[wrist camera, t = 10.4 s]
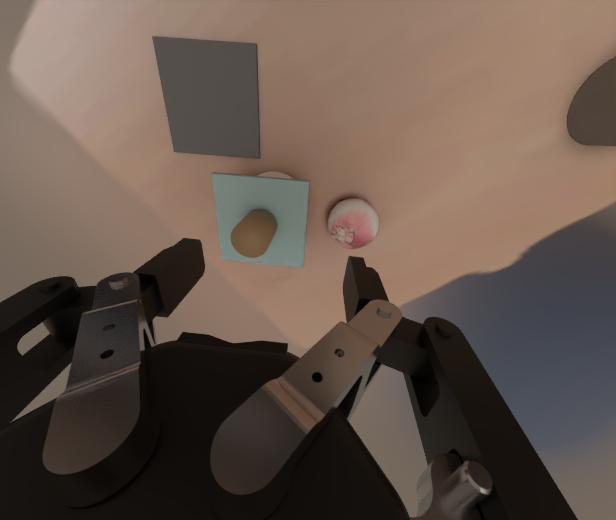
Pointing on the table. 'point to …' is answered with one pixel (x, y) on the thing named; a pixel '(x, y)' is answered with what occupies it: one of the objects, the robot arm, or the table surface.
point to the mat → (210, 95)
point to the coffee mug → (595, 108)
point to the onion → (353, 223)
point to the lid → (261, 218)
